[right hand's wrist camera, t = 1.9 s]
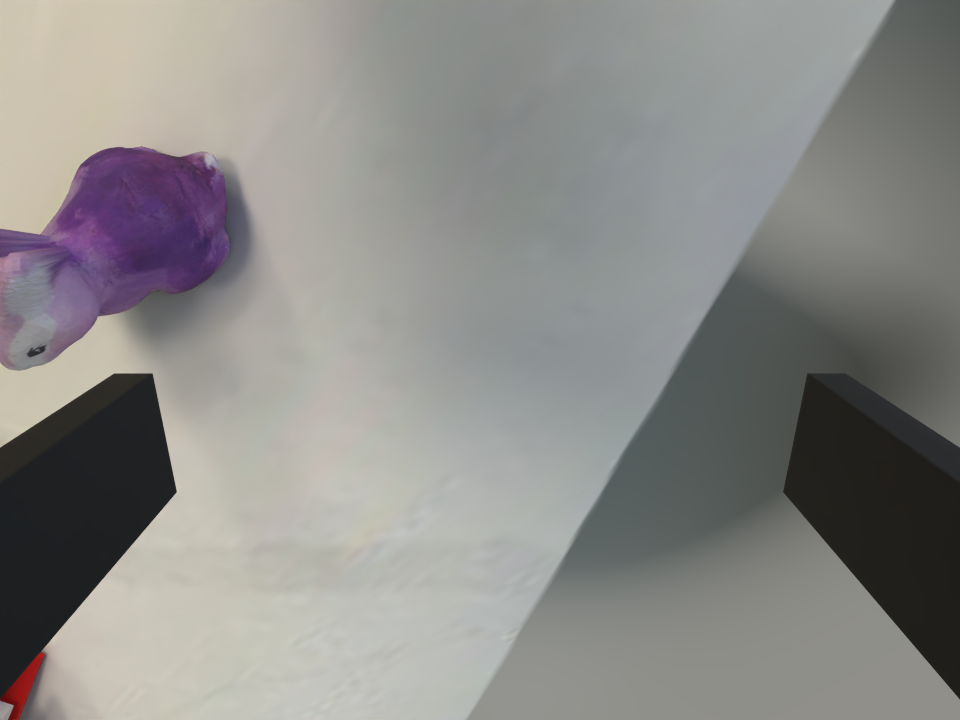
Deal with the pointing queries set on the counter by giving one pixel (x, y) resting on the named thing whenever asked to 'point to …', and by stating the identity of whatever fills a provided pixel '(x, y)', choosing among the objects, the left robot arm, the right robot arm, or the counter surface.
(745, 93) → the counter surface
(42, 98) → the counter surface
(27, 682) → the toy
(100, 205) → the figurine
